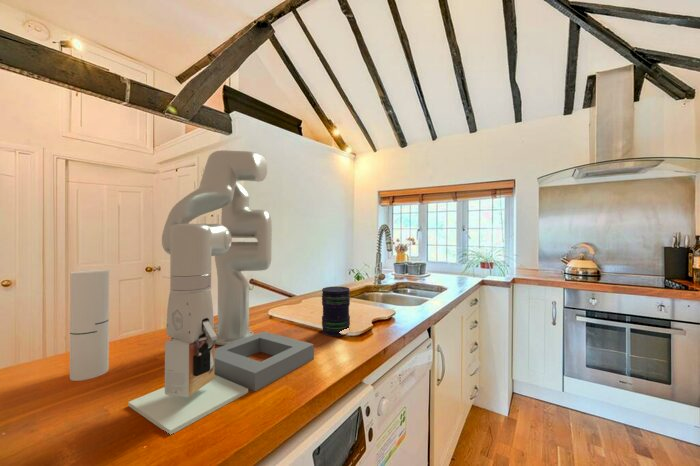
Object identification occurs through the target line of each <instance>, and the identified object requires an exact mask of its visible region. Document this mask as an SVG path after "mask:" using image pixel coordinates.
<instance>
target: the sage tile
mask: <svg viewBox="0 0 700 466" xmlns="http://www.w3.org/2000/svg"><path fill="white" fill-rule="evenodd" d="M246 394H249V389H248V388H245V387H243V386H240V385H238V384H236V383H233V382H231V381H229V380H226V379H224V378H222V377H219V376H217V375H214V379H213V380H212V381H210V382H209V383H207V384H206V385H204V386H203V387H201V388H200V389H199V390H197V391H196V392H194V393H193V394H192V395H191V396H189V397H183V396H175V395H166V394H165V386H164V387H162V388H159V389H156V390H154V391H151V392H149V393H146V394H144V395H143V396H140V397H137V398H134V399H132V400H130V401H128V407H129V408H130V409H132V410H134V411H135V412H136V413H138V414H139V415H140V416H142V417H143V418H145V419H146V420H148V421H149V422H151V423H152V424H154V425H155V426H156V427H158V428H160V429H161V430H162V431H163V430H164V431H163V432H165V431H166V432H167V433H166V432H165V433H166V434H168V433H169V434H170V435H169V434H168V435H169V436H172V435H173V433H174V434H176V433H177V432H179V431H182V430H183V429H185V428H186V427H188V426H190V425H192V424H193V423H195V422H197V421H199V420H201V419H203V418H204V417H206V416H208V415H210V414H211V413H213V412H215V411H217V410H219V409H222V407H224V406H226V405H228V404H230V403H231V402H233V401H235V400H238V399H239V398H240V397H243V396H244V395H246ZM171 434H172V435H171Z"/></svg>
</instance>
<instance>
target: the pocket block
mask: <svg viewBox="0 0 700 466" xmlns="http://www.w3.org/2000/svg"><path fill="white" fill-rule="evenodd" d="M259 352H260V353H264V354H267V355H270V356H271V357H268V358H266V359H264V360H262V361H259V360H256V359H254V358H249V357H250V356H253V355H255V354H257V353H259ZM314 359H315V344H314V343H311V342H307V341H303V340H298V339H294V338H292V337H287V336H283V335H279V334H276V333H271V332H267V331H261V332H258V333H256V334H254V335H252V336H249V337H246V338H244V339H241V340H238V341H235V342H232V343H230V344H227V345H220V346H219V347H216V348H215V366H214V375H217V376H219V377H222V378H224V379H226V380H229V381H231V382H233V383H236V384H238V385H240V386H243V387H245V388H248V390H249V391H253V392H257V391H259V390H260V389H263V388H264V387H267V386H268V385H270V384H272V383H273V382H276V381H277V380H279V379H280V378H282V377H284V376H286V375H288V374H289V373H292V372H293V371H295V370H297V369H298V368H300V367H302V366H304V365H305V364H307V363H308V362H311V361H312V360H314Z"/></svg>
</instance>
